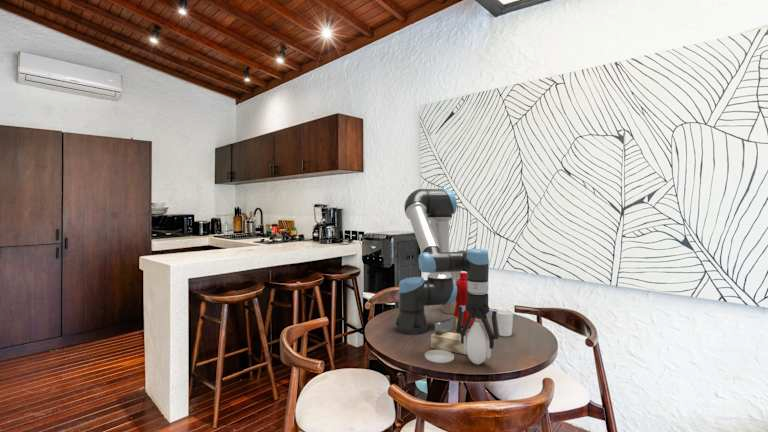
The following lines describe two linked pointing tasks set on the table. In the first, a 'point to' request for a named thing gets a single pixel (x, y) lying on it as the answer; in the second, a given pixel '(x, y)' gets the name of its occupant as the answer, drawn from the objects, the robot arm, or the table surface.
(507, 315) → the white cup
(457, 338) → the beige long block
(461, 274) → the red lumpy piece
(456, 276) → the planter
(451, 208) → the robot arm
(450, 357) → the white round disc
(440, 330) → the lever
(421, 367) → the table surface
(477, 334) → the sauce bottle
